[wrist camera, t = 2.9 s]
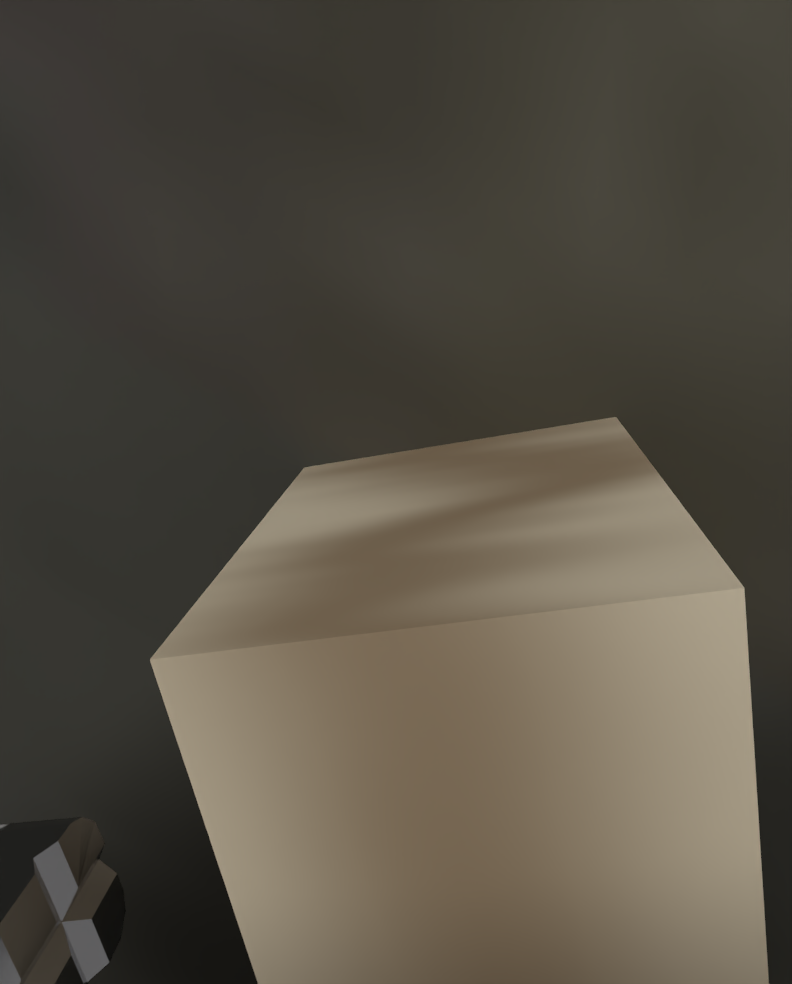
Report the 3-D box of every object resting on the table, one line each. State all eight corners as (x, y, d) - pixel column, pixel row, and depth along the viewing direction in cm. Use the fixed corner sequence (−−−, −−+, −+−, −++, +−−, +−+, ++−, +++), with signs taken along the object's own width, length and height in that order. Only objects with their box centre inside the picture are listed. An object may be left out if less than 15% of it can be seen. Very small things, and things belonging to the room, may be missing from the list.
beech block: (615, 416, 11) (745, 587, 6) (646, 694, 13) (773, 1050, 7) (305, 466, 12) (149, 660, 7) (366, 722, 14) (284, 1061, 8)
